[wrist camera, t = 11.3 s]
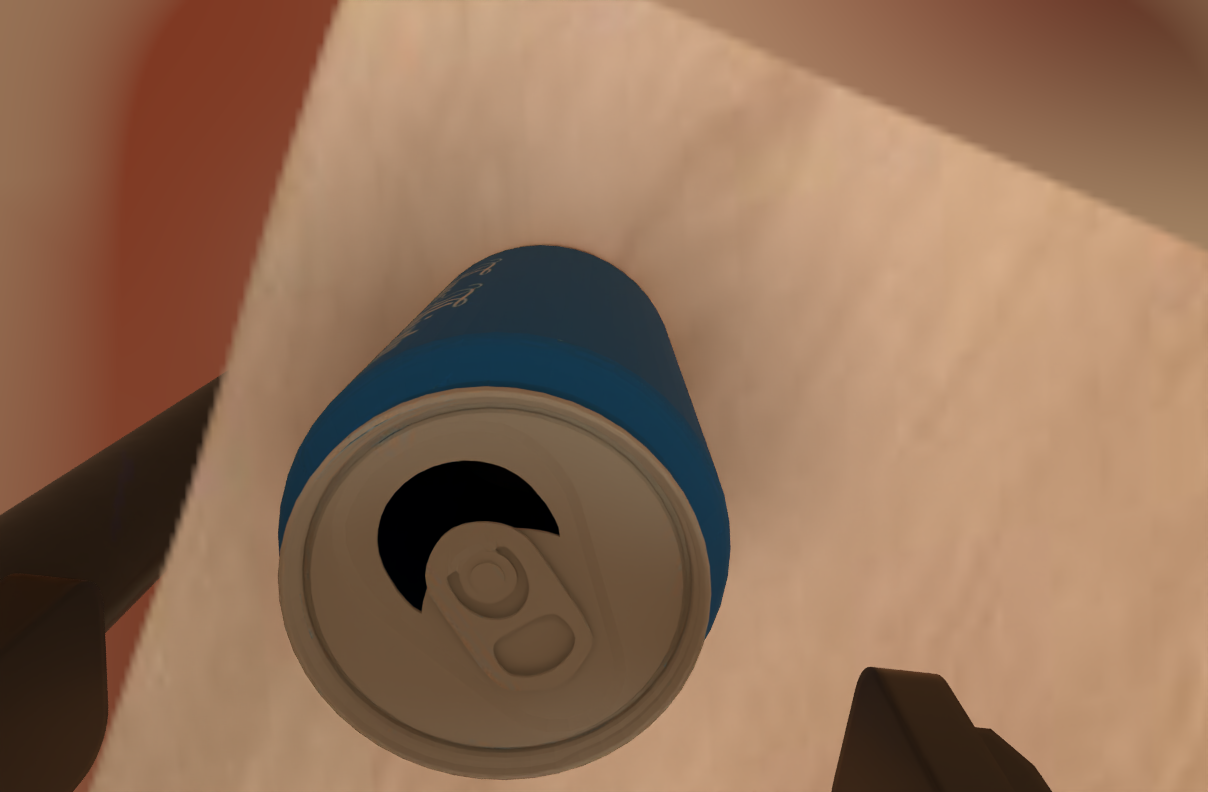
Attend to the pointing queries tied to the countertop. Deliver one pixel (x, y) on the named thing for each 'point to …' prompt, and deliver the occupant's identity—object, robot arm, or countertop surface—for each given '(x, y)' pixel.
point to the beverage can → (507, 525)
